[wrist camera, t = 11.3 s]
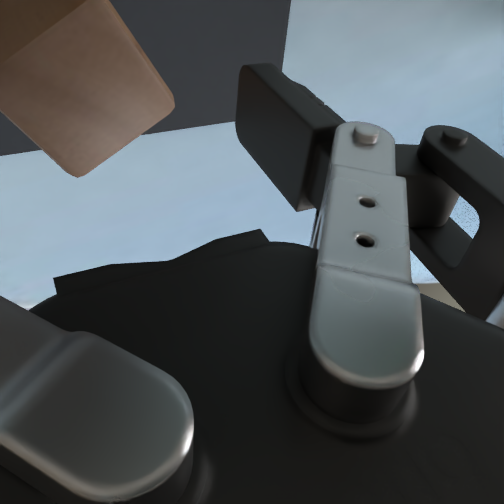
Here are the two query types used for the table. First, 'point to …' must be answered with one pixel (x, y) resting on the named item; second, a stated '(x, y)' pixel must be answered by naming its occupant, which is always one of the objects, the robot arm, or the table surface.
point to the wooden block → (76, 80)
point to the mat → (194, 56)
